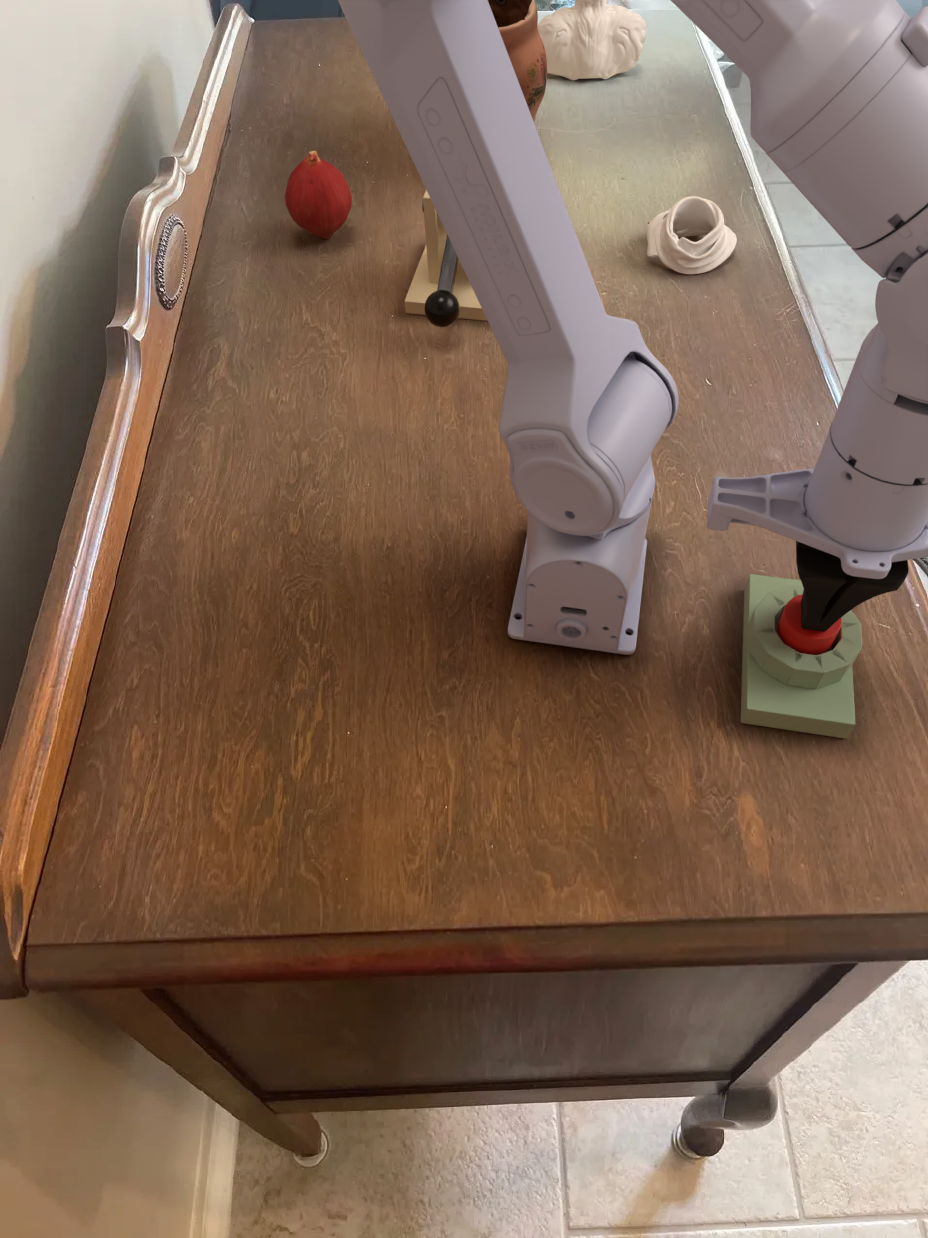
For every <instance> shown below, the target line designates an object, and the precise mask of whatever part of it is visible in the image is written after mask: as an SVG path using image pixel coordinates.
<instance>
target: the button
mask: <svg viewBox="0 0 928 1238" xmlns="http://www.w3.org/2000/svg"><path fill="white" fill-rule="evenodd" d="M801 599H802V595H798V596H796V597H794V598H792V599H791V600H790V601H789V602H788V603H787V604H786V606H785V608H784V611H783V613H782V615H781V618H780V620H779V623H778V626H777V632H778V636H779V637H780V639H781V640H782V642H783V643H784V644H785V645H787V646H789V647H790V648H792V649H794V650H795V651H797V652H799V653H803V654H810V655H819V654H822V653H824V652H826V651H827V650H828V649H829V648H830V647H831V645H832V643H833V641H834V640H835V638H836V636H837V634H838V632H839V630H840V628H841V625H842V618H840V619H839V620H838V621H837V622H835V623H834V624H833V625H832V626H831V627H830V628H829V629H828V630H827V631H825V632H822V631H815V630H808V629H803V628H802V627H801Z"/></svg>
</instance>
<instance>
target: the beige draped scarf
mask: <svg viewBox="0 0 928 1238" xmlns="http://www.w3.org/2000/svg"><path fill="white" fill-rule="evenodd" d="M647 224H648V226H647V229H646V234H645V235H646V240H647V254H646V255H647V256H648V257H649V258H658V259H659V260H660V261H661V263H662V264H663V265H664V266H665V267H667V268H669V269H671V270H673V271H674V272H677V273H680V274H683V275H698V274H703V273H707V272H711V271H712V270H714V269H716V268H718V267H719V266H720V265H721V264H722V263H724V262H725V261H726V260H728V258H730V256H731V255H732V254H733V252H734V250H735V249H736V246H737V243H738V240H737V235H736V233H735V232H733V231H732V229H731V228H729V226H727V225H726V224H725V217H724V213H723V211H722V210H721V208H720V207H719V206H718V204H716V203H715V202H714V201H712V200H710V199H708V198H703V197H701V196H696V195H692V196H686V197H683V198H681V199H680V200H677V201H676V202H675V203H674V204H673V205H672V206H671V208H670V209H668V210H665V211H662V212H660V213H657V214H656V215H655V216H654V217H653V218H651V220H649V221H648V222H647ZM694 236H695V237H696V236H703V237H702V238H700V240H698V241H692V240H691V239H688V238H686V237H694Z"/></svg>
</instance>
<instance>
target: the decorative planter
mask: <svg viewBox="0 0 928 1238" xmlns="http://www.w3.org/2000/svg"><path fill="white" fill-rule="evenodd" d="M488 3H489V5H490V8H491V11H492V13H493V16H494V19H495V21H496V24H497V26H498V29H499V32H500V34H501V37H502V40H503V42H504V45H505V48H506V50H507V53H508V56H509V58H510V61H511V63H512V66H513V69H514V71H515V74H516V77H517V79H518V82H519V85H520V87H521V90H522V92H523V95H524V98H525V100H526V103H527V106H528V108H529V111H530V114H531V116H532V119H533V122H534V123H535V120H536V117H537V112H538V110H539V108H540V106H541V104H542V102H543V100H544V97H545V94H546V88H547V80H548V73H547V58H546V51H545V47H544V44H543V41H542V39H541V37H540V35H539V32H538V24H539V23H538V22H539V21H538V20H539V13H538V8H537V4H536V2H535V0H488Z"/></svg>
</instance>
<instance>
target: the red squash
mask: <svg viewBox="0 0 928 1238" xmlns="http://www.w3.org/2000/svg"><path fill="white" fill-rule="evenodd" d="M284 200H285V206H286V209H287V211H288V213H289V216H290V217H291V219H292V220H293V221H294V223H295V224H296V225H297V226H298V227H299V228H301V229H303V230H304V231H305V232H307V233H309V234H311V235H313V236H315V237H318V238H320V239H323V240H327V239H330V238H331V237H332V236H333V235H334V234H335V233H336V232H337V231H338V230H340V229H341V227H342V226H343V225H344V224H345V222H347V220H348V217H349V214H350V212H351V210H352V203H353V197H352V193H351V189H350V186H349V184H348V181H347V180H346V176H344V174H343V173H342V172H341V171H340V170H339V169H338V168H337V167H336V166H334V165H333V164H332V163H331V162H329V161H327V160H324V159H323V158H320V157H319V155H318V152H317V150H311V151H308V154H307V155H306V156H305V157H304V159H302V160H300V162H299V163H298V164H297V165H296V166H295V167H294V168H293V169H292V171H291V172H290V174H289V176H288V179H287V182H286V188H285V192H284Z"/></svg>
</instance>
